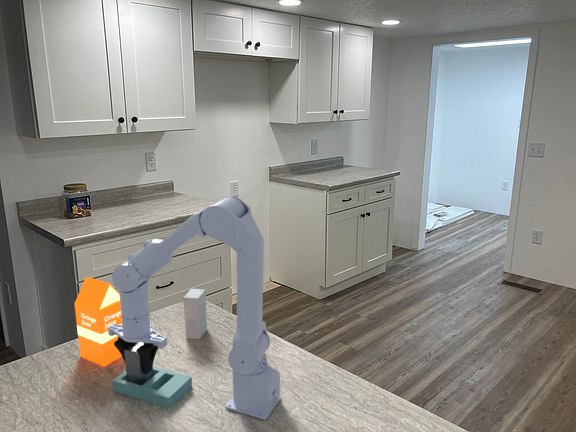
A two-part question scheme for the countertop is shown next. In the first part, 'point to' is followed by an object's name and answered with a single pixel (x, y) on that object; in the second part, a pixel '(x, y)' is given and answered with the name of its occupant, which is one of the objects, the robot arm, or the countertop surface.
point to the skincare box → (195, 313)
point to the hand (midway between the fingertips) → (139, 369)
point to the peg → (135, 366)
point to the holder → (156, 387)
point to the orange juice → (97, 321)
